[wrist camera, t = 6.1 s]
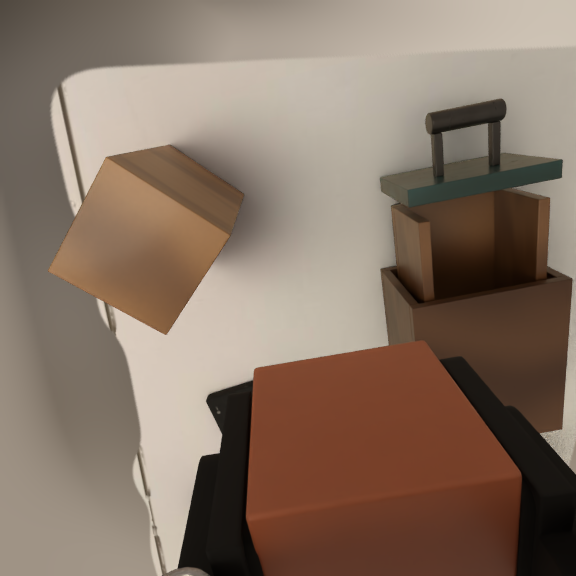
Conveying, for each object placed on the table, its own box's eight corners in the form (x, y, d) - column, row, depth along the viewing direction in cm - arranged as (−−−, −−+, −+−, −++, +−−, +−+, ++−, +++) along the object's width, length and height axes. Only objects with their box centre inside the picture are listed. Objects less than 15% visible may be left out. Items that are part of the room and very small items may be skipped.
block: (253, 366, 10) (244, 518, 6) (424, 338, 10) (525, 473, 6) (282, 494, 11) (289, 680, 7) (431, 470, 11) (514, 645, 7)
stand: (169, 144, 33) (105, 156, 20) (244, 194, 35) (230, 235, 22) (129, 217, 35) (47, 271, 22) (201, 261, 37) (166, 335, 24)
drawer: (374, 121, 32) (402, 120, 26) (504, 95, 32) (567, 87, 25) (393, 312, 38) (420, 352, 32) (503, 292, 38) (553, 327, 31)
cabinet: (380, 268, 38) (412, 309, 29) (505, 244, 37) (573, 278, 29) (393, 390, 43) (424, 454, 34) (504, 370, 42) (562, 429, 34)
